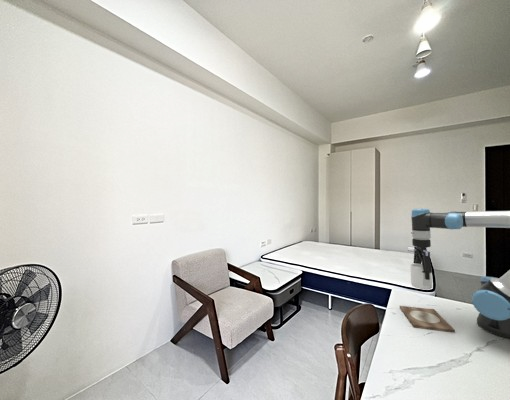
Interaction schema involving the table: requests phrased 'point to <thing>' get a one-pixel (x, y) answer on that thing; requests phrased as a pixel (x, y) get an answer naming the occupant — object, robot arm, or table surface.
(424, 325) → the board
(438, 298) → the table surface
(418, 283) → the mug
